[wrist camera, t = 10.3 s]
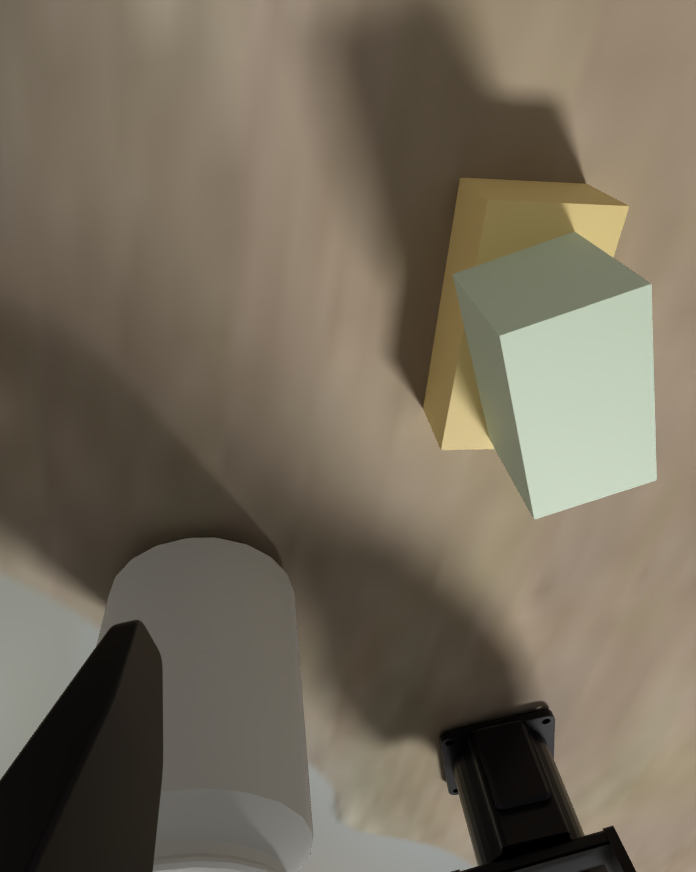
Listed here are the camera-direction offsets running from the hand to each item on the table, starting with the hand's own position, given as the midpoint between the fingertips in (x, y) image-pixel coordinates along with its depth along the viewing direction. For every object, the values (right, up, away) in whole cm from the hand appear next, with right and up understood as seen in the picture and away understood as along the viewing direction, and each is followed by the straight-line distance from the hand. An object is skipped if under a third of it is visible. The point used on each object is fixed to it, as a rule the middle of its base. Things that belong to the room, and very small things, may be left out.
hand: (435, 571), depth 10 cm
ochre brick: (+4, +7, +12) cm, 14 cm away
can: (-7, -4, +17) cm, 19 cm away
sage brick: (+4, +5, +9) cm, 11 cm away
